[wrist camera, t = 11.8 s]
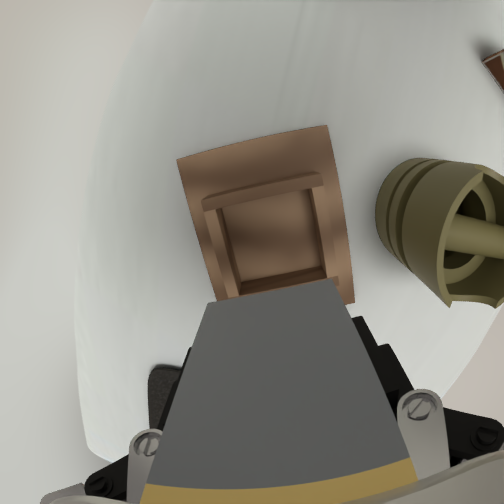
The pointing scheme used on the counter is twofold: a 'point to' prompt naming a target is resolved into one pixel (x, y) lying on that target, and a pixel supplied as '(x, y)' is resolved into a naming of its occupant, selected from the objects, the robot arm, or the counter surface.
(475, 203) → the piston
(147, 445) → the robot arm
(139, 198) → the counter surface
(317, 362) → the gold and gray block
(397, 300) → the counter surface
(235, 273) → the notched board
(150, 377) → the sushi plate
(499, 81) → the food container
